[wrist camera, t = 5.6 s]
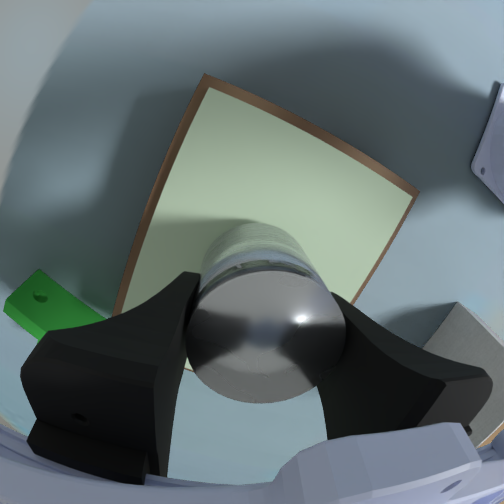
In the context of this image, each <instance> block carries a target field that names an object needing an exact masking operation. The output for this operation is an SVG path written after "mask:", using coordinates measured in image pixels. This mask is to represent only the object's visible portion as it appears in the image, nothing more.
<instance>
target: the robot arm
mask: <svg viewBox="0 0 504 504" xmlns="http://www.w3.org/2000/svg"><path fill="white" fill-rule="evenodd" d="M481 168H482V171H481ZM471 169H472V171H473V173H474V174H476V175H477V176H478V177H479V178H480V179H481V180H482V181H483V183H484V184H485V185H486V186H487V187H488V188H489V189H490V190H491V191H492V192H493V193H494V194H495V195H496V196H497V197H498V198H499V199H500V201H501V202H502V203H503V204H504V83H502V84H501V85H500V88H499V92H498V95H497V98H496V101H495V104H494V107H493V110H492V113H491V116H490V118H489V121H488V124H487V127H486V129H485V132H484V134H483V137H482V140H481V142H480V145H479V147H478V149H477V152H476V154H475V157H474V159H473V161H472V164H471ZM199 278H200V273H194V272H187V271H184V272H182V273H181V274H180V275H179V276H177V277H176V278H175V279H174V280H173V281H172V282H171V283H170V284H168V285H167V286H166V287H165V288H163V289H162V290H161V291H160V292H158V293H157V294H156V295H154V296H153V297H151V298H150V299H148V300H147V301H145V302H144V303H142V304H140V305H138V306H136V307H134V308H132V309H130V310H128V311H126V312H124V313H121V314H119V315H116V316H114V317H111V318H108V319H106V320H102V321H99V322H96V323H92V324H88V325H83V326H78V327H73V328H65V329H58V330H48V331H47V332H46V334H45V335H44V336H43V337H42V338H41V340H40V341H39V342H38V344H37V345H36V346H35V348H34V349H33V351H32V352H31V354H30V355H29V357H28V358H27V360H26V361H25V363H24V364H23V366H22V367H21V374H20V378H21V382H22V385H23V388H24V391H25V393H26V396H27V398H28V400H29V403H30V405H31V407H32V409H33V411H34V414H35V416H36V418H37V420H36V422H35V424H34V426H33V428H32V430H31V432H30V434H29V436H28V437H27V436H25V435H23V434H21V433H18V432H16V431H14V430H12V429H10V428H8V427H5V426H4V425H2V424H0V504H499V503H501V502H502V501H503V500H504V429H503V430H502V431H501V432H500V433H499V434H498V435H497V436H496V437H495V438H494V440H493V441H492V442H491V443H490V444H488V445H485V446H483V447H480V448H477V449H475V447H474V445H473V444H472V442H471V440H470V439H469V437H468V436H470V435H471V434H472V429H471V428H470V426H469V424H470V423H471V421H472V420H473V419H474V418H475V417H476V415H477V414H478V413H479V412H480V410H481V409H482V408H483V406H484V405H485V403H486V402H487V400H488V399H489V397H490V395H491V393H492V388H493V381H492V379H491V377H490V376H489V375H488V374H487V372H486V371H485V370H484V369H483V368H481V367H477V366H472V365H468V364H464V363H460V362H456V361H453V360H450V359H447V358H444V357H441V356H438V355H435V354H433V353H430V352H428V351H426V350H423V349H421V348H419V347H417V346H415V345H413V344H411V343H409V342H407V341H405V340H403V339H401V338H400V337H398V336H396V335H394V334H393V333H391V332H389V331H388V330H386V329H385V328H383V327H382V326H380V325H379V324H377V323H376V322H375V321H373V320H372V319H370V318H369V317H368V316H366V315H365V314H364V313H362V312H361V311H360V310H358V309H357V308H356V307H354V306H353V305H352V304H350V303H349V302H348V301H346V300H345V299H343V298H342V297H341V296H339V295H337V294H336V293H334V292H330V293H331V294H332V296H333V298H334V299H335V301H336V303H337V304H338V306H339V308H340V310H341V312H342V314H343V317H344V320H345V325H346V341H345V347H344V350H343V353H342V355H341V357H340V359H339V361H338V363H337V365H336V366H335V368H334V369H333V370H332V371H331V373H330V374H329V375H328V376H327V377H326V378H325V379H324V380H323V381H322V382H320V383H319V384H318V385H317V388H318V392H319V395H320V398H321V402H322V406H323V411H324V418H325V424H326V431H327V439H328V440H326V441H323V442H321V443H318V444H316V445H314V446H312V447H309V448H307V449H304V450H302V451H300V452H299V453H297V454H296V455H295V456H294V457H293V458H292V459H291V460H289V461H288V462H287V463H286V464H285V465H284V466H283V467H282V468H281V469H280V471H279V472H278V474H277V476H276V477H275V479H274V480H273V482H264V483H256V484H246V485H228V484H215V483H204V482H195V481H187V480H180V479H173V478H167V472H168V462H169V453H170V444H171V436H172V428H173V421H174V413H175V406H176V400H177V394H178V389H179V385H180V382H181V378H182V374H183V371H184V367H185V364H186V360H187V354H186V348H185V338H186V333H187V327H188V323H189V318H190V313H191V309H192V304H193V300H194V297H195V293H196V290H197V286H198V283H199Z"/></svg>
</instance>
